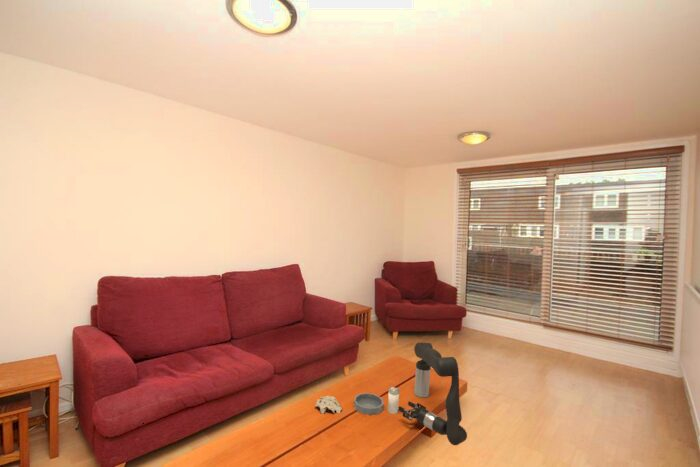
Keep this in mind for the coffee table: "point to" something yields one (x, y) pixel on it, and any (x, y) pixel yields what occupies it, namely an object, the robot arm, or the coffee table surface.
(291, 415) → the coffee table surface
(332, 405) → the coral
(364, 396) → the bowl
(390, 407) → the pebble cup
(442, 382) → the coffee table surface
